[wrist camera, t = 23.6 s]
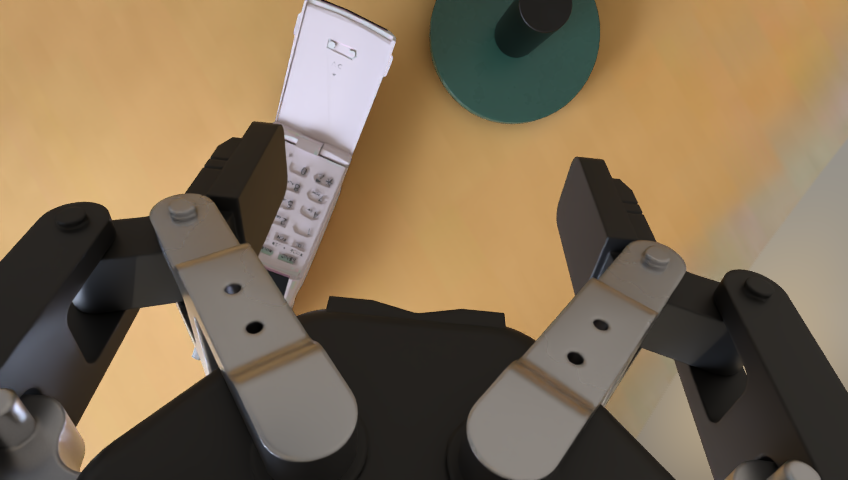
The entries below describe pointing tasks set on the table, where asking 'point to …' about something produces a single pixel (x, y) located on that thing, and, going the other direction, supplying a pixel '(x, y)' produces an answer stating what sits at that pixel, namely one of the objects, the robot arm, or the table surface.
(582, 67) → the green pot lid
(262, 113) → the table surface
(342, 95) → the mobile phone
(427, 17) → the table surface
